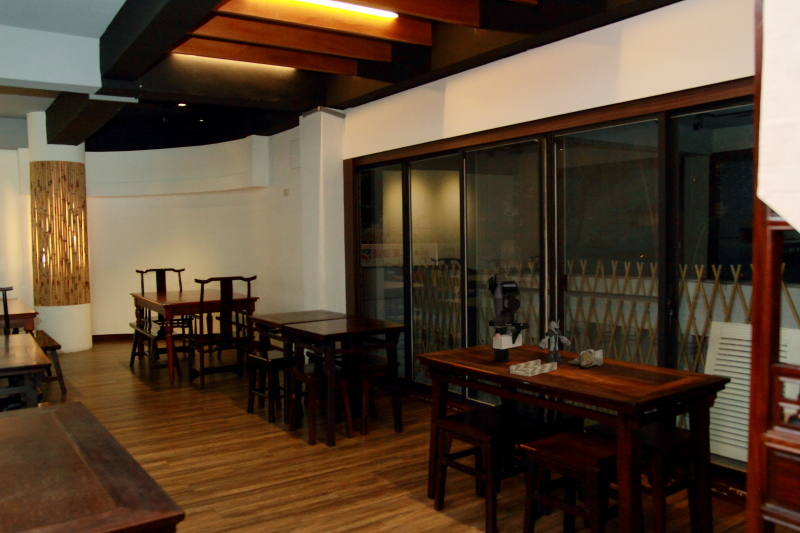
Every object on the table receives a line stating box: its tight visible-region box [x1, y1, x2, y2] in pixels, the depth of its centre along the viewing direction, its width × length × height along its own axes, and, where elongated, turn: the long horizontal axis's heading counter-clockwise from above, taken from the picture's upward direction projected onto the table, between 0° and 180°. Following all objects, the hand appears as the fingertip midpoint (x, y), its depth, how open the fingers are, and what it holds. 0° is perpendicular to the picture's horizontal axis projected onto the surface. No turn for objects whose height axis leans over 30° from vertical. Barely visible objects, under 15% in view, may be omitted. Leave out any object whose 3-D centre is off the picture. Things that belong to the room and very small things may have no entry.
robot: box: [537, 318, 572, 364], centre depth 294 cm, size 20×5×20 cm, turn 122°
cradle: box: [509, 359, 558, 377], centre depth 275 cm, size 20×10×3 cm, turn 132°
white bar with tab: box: [492, 332, 523, 349], centre depth 284 cm, size 17×5×6 cm, turn 132°
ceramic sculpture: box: [567, 347, 604, 368], centre depth 283 cm, size 11×9×15 cm
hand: (508, 343), depth 284 cm, fingers closed on white bar with tab, 5 cm apart
